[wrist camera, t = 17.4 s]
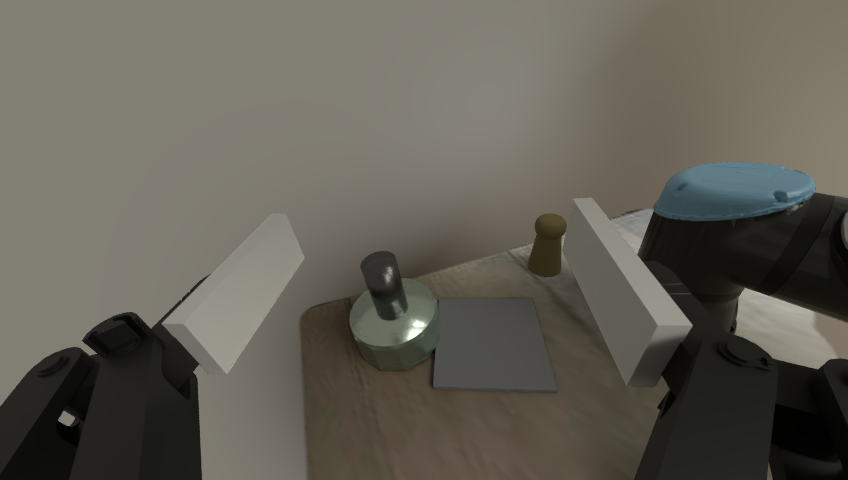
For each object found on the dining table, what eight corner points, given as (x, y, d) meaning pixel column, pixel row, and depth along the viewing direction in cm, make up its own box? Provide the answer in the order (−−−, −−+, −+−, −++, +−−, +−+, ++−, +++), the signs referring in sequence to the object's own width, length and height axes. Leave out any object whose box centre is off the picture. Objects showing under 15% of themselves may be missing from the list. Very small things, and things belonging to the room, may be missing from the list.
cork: (559, 258, 60) (569, 210, 53) (562, 278, 55) (572, 228, 49) (527, 255, 61) (533, 208, 55) (527, 274, 57) (533, 226, 50)
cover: (442, 300, 53) (430, 231, 44) (438, 370, 42) (421, 295, 34) (370, 303, 55) (346, 237, 47) (349, 370, 44) (313, 300, 36)
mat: (532, 300, 51) (532, 298, 51) (557, 393, 38) (557, 390, 38) (439, 301, 54) (439, 298, 53) (433, 388, 41) (433, 386, 40)
